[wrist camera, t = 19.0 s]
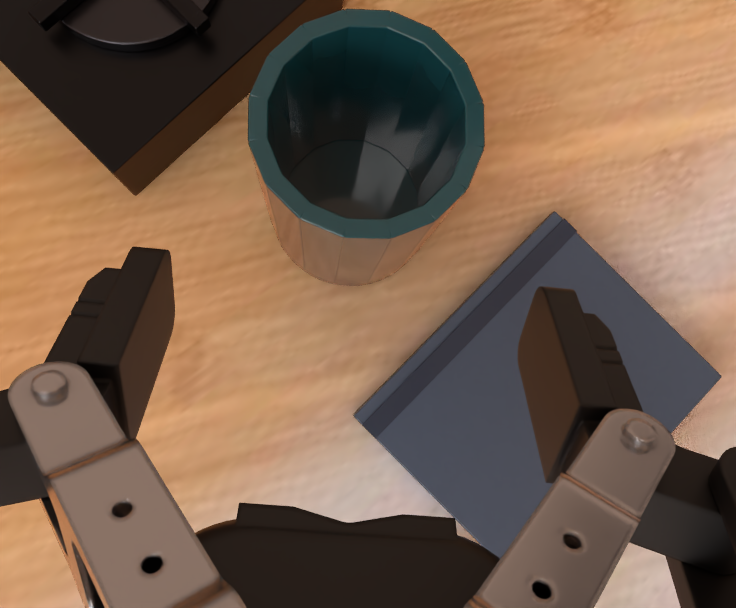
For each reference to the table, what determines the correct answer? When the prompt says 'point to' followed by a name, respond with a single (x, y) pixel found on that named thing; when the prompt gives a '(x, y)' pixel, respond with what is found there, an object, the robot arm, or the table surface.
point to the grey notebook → (517, 384)
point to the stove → (144, 68)
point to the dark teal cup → (362, 141)
